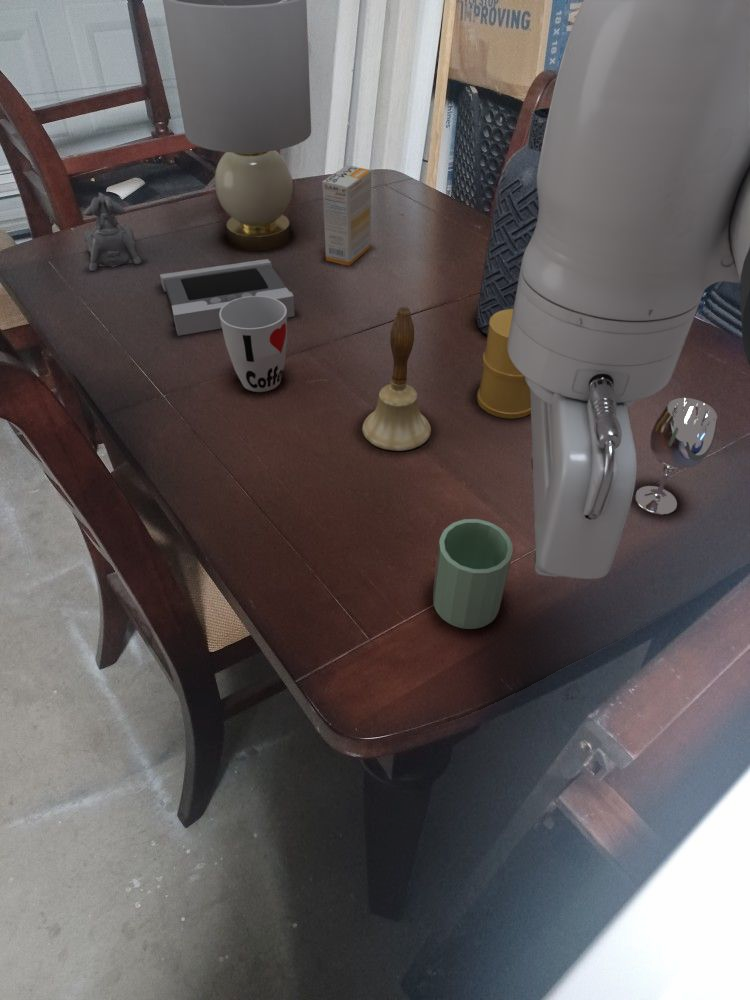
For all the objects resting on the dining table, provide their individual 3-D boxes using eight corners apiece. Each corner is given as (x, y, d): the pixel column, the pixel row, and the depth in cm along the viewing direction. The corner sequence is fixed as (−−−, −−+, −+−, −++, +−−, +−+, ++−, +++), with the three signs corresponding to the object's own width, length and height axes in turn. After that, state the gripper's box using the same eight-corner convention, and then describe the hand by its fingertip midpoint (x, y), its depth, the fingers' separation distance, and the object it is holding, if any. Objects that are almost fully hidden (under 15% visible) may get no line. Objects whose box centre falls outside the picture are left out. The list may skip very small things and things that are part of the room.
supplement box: (347, 242, 122) (346, 163, 113) (371, 248, 120) (372, 168, 111) (324, 261, 117) (320, 180, 108) (349, 267, 115) (348, 185, 106)
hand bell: (383, 401, 88) (387, 284, 77) (442, 422, 85) (454, 304, 74) (349, 437, 83) (347, 316, 72) (410, 460, 80) (418, 339, 69)
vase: (558, 352, 97) (607, 133, 78) (471, 341, 99) (498, 125, 79) (559, 309, 106) (604, 103, 86) (479, 301, 108) (506, 96, 88)
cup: (242, 405, 87) (232, 335, 80) (221, 372, 92) (210, 304, 86) (301, 388, 90) (296, 319, 83) (278, 358, 95) (272, 290, 88)
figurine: (135, 239, 122) (121, 175, 114) (142, 264, 115) (127, 197, 107) (85, 246, 119) (67, 181, 112) (89, 271, 113) (71, 203, 105)
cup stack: (541, 391, 91) (558, 315, 83) (529, 424, 85) (546, 346, 78) (485, 378, 92) (496, 302, 85) (469, 410, 87) (480, 333, 80)
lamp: (177, 244, 120) (130, -5, 96) (251, 206, 133) (226, -23, 108) (269, 274, 113) (244, 12, 88) (338, 231, 125) (333, -9, 101)
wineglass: (625, 510, 75) (658, 421, 67) (632, 477, 79) (664, 389, 70) (681, 525, 73) (722, 436, 65) (685, 490, 77) (724, 402, 69)
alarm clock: (173, 315, 96) (156, 256, 106) (179, 343, 100) (161, 283, 110) (293, 296, 101) (265, 241, 111) (294, 323, 104) (267, 268, 114)
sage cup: (506, 587, 67) (519, 530, 61) (490, 638, 63) (502, 581, 57) (444, 568, 69) (451, 511, 63) (424, 616, 64) (430, 560, 59)
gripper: (694, 463, 29) (609, 651, 39) (633, 251, 43) (582, 425, 53) (540, 447, 29) (494, 636, 39) (531, 242, 44) (499, 417, 54)
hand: (545, 513), depth 46 cm, fingers open, 8 cm apart
